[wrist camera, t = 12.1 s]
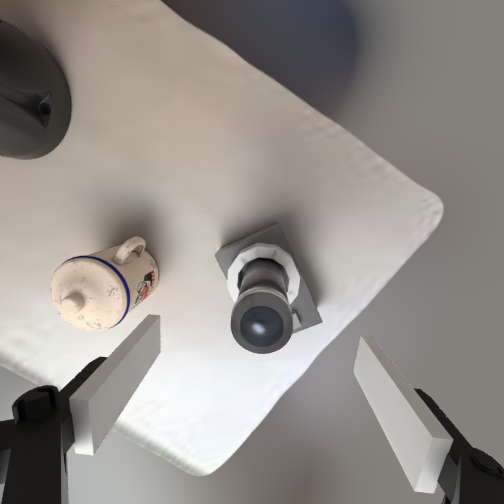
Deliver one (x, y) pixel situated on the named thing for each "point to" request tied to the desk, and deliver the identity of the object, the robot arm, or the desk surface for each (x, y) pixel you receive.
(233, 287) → the camera body
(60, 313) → the teacup with lid
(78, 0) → the desk surface
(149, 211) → the desk surface
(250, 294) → the grey flashlight
